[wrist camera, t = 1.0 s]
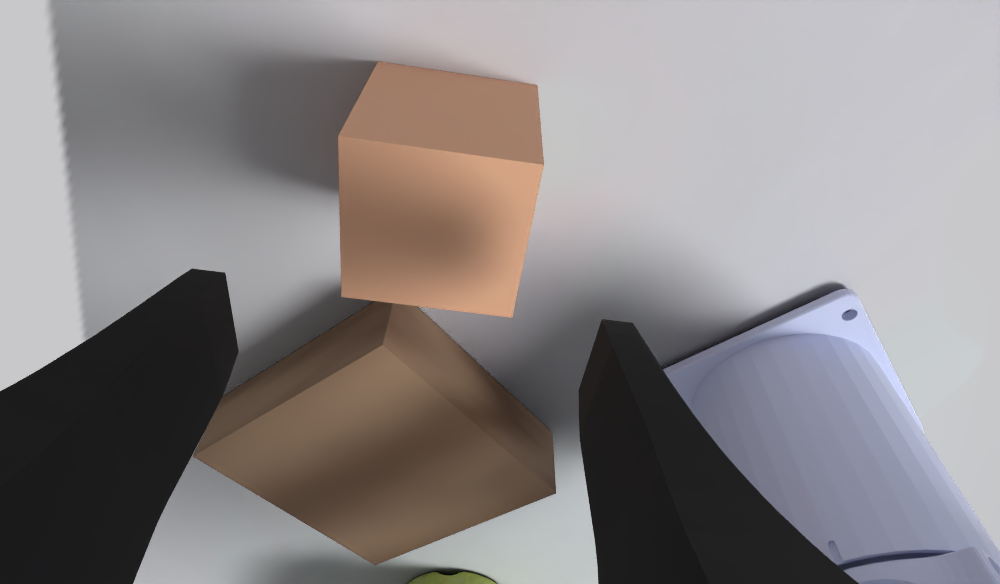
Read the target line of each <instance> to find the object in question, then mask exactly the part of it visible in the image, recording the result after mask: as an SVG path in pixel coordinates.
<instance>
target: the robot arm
mask: <svg viewBox="0 0 1000 584" xmlns="http://www.w3.org/2000/svg"><path fill="white" fill-rule="evenodd" d="M850 309H851V310H850ZM847 310H850V311H849V312H847V313H844V312H845V311H847ZM238 352H239V351H238V345H237V339H236V333H235V328H234V322H233V316H232V310H231V304H230V298H229V292H228V286H227V281H226V275H225V273H223V272H215V271H206V270H198V269H191V270H189V271H188V272H186V273H185V274H183V275H182V276H180V277H179V278H177V279H176V280H174V281H173V282H171V283H170V284H169V285H167V286H166V287H164V288H163V289H161V290H160V291H159V292H157V293H156V294H154V295H153V296H151V297H150V298H149V299H147V300H146V301H144V302H143V303H142V304H140V305H139V306H137V307H136V308H134V309H133V310H131V311H130V312H128V313H127V314H126V315H124V316H123V317H121V318H120V319H118V320H117V321H115V322H114V323H112V324H111V325H109V326H108V327H106V328H105V329H103V330H102V331H100V332H99V333H97V334H96V335H94V336H93V337H91V338H90V339H88V340H86V341H85V342H83V343H82V344H80V345H78V346H77V347H75V348H74V349H72V350H70V351H69V352H67V353H65V354H64V355H62V356H61V357H59V358H57V359H56V360H54V361H53V362H51V363H49V364H48V365H46V366H44V367H43V368H41V369H40V370H38V371H36V372H34V373H33V374H31V375H29V376H28V377H26V378H24V379H22V380H20V381H18V382H17V383H15V384H13V385H11V386H10V387H8V388H6V389H4V390H2V391H0V584H133V582H134V580H135V577H136V574H137V572H138V569H139V567H140V564H141V562H142V560H143V557H144V555H145V552H146V550H147V547H148V545H149V542H150V540H151V537H152V535H153V532H154V530H155V527H156V525H157V523H158V520H159V518H160V516H161V514H162V512H163V510H164V508H165V506H166V504H167V502H168V499H169V498H170V496H171V494H172V492H173V490H174V488H175V486H176V484H177V483H178V481H179V479H180V477H181V475H182V473H183V471H184V469H185V467H186V466H187V464H188V462H189V460H190V458H191V456H192V454H193V452H194V450H195V449H196V447H197V445H198V443H199V441H200V439H201V437H202V435H203V433H204V432H205V430H206V428H207V426H208V424H209V422H210V420H211V418H212V416H213V414H214V412H215V410H216V408H217V406H218V404H219V402H220V400H221V399H222V396H223V393H224V391H225V388H226V385H227V383H228V380H229V378H230V375H231V372H232V369H233V366H234V363H235V360H236V357H237V355H238ZM579 429H580V442H581V450H582V457H583V464H584V471H585V477H586V484H587V491H588V497H589V504H590V511H591V517H592V524H593V531H594V537H595V545H596V554H597V564H598V582H599V584H1000V551H999V549H998V547H997V546H996V544H995V543H994V541H993V540H992V538H991V537H990V535H989V534H988V532H987V531H986V529H985V528H984V526H983V524H982V523H981V521H980V520H979V518H978V517H977V515H976V514H975V512H974V511H973V509H972V507H971V506H970V504H969V503H968V501H967V500H966V498H965V497H964V495H963V493H962V492H961V490H960V489H959V488H958V486H957V484H956V483H955V481H954V480H953V478H952V477H951V475H950V474H949V472H948V470H947V469H946V467H945V466H944V464H943V463H942V461H941V460H940V458H939V456H938V455H937V453H936V452H935V450H934V449H933V447H932V446H931V444H930V443H929V441H928V440H927V438H926V437H925V435H924V433H923V432H924V429H923V426H922V424H921V423H920V420H919V418H918V416H917V414H916V412H915V410H914V408H913V406H912V404H911V402H910V400H909V398H908V396H907V394H906V392H905V390H904V388H903V386H902V384H901V382H900V380H899V378H898V376H897V374H896V372H895V370H894V368H893V366H892V364H891V362H890V360H889V358H888V356H887V354H886V352H885V350H884V348H883V346H882V344H881V342H880V340H879V338H878V336H877V334H876V332H875V330H874V328H873V326H872V324H871V322H870V320H869V318H868V316H867V314H866V312H865V310H864V308H863V306H862V304H861V302H860V300H859V298H858V297H857V295H856V294H855V293H854V292H853V290H850V289H840V290H837V291H835V292H832V293H830V294H828V295H826V296H824V297H821V298H819V299H817V300H815V301H813V302H810V303H808V304H806V305H804V306H802V307H799V308H797V309H795V310H793V311H791V312H788V313H786V314H784V315H782V316H780V317H777V318H775V319H773V320H771V321H769V322H766V323H764V324H762V325H760V326H758V327H755V328H753V329H751V330H749V331H747V332H744V333H742V334H740V335H738V336H736V337H733V338H731V339H729V340H727V341H725V342H722V343H720V344H718V345H716V346H713V347H711V348H709V349H707V350H705V351H702V352H700V353H698V354H696V355H694V356H691V357H689V358H687V359H685V360H683V361H680V362H678V363H676V364H674V365H672V366H669V367H667V368H665V369H662V368H661V366H660V364H659V363H658V361H657V360H656V358H655V357H654V355H653V354H652V352H651V351H650V349H649V347H648V346H647V344H646V343H645V341H644V340H643V338H642V336H641V335H640V333H639V332H638V330H637V329H636V327H635V326H634V324H633V323H628V322H620V321H612V320H604V319H602V321H601V324H600V327H599V330H598V333H597V336H596V339H595V342H594V345H593V348H592V352H591V355H590V358H589V361H588V364H587V367H586V370H585V373H584V376H583V379H582V382H581V385H580V388H579Z"/></svg>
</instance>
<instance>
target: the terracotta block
mask: <svg viewBox="0 0 1000 584" xmlns="http://www.w3.org/2000/svg"><path fill="white" fill-rule="evenodd" d="M338 159H339V205H340V251H341V296H342V297H346V298H355V299H363V300H371V301H379V302H387V303H396V304H404V305H412V306H420V307H428V308H437V309H445V310H453V311H461V312H470V313H478V314H486V315H494V316H502V317H511V318H512V317H513V312H514V307H515V302H516V297H517V293H518V288H519V283H520V278H521V273H522V268H523V264H524V259H525V254H526V249H527V244H528V239H529V234H530V230H531V225H532V220H533V215H534V210H535V205H536V201H537V196H538V191H539V186H540V181H541V176H542V172H543V167H544V160H543V148H542V136H541V123H540V111H539V98H538V86H537V85H532V84H526V83H519V82H512V81H506V80H499V79H492V78H486V77H479V76H473V75H466V74H459V73H453V72H446V71H439V70H433V69H426V68H419V67H413V66H406V65H400V64H393V63H386V62H380V61H378V62H377V64H376V66H375V68H374V70H373V72H372V74H371V75H370V77H369V79H368V81H367V83H366V85H365V87H364V88H363V90H362V92H361V94H360V96H359V98H358V100H357V102H356V103H355V105H354V107H353V109H352V111H351V113H350V115H349V116H348V118H347V120H346V122H345V124H344V126H343V128H342V129H341V131H340V133H339V135H338Z"/></svg>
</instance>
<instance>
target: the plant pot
mask: <svg viewBox="0 0 1000 584" xmlns="http://www.w3.org/2000/svg"><path fill="white" fill-rule="evenodd" d="M408 584H497V583H495V582H493V581H492V580H490V579H488V578H485V577H483V576H480V575H477V574H474V573H469V572H460V573H458V574H456V575H442V574H439V573H438V572H432V573H427V574H424V575H421V576H419V577H417V578H415V579H413V580H412V581H411V582H409V583H408Z"/></svg>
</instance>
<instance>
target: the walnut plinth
mask: <svg viewBox="0 0 1000 584" xmlns="http://www.w3.org/2000/svg"><path fill="white" fill-rule="evenodd" d="M193 457H195V458H197V459H198V460H200V461H202V462H203V463H205V464H207V465H208V466H210V467H212V468H213V469H215V470H217V471H218V472H220V473H222V474H223V475H225V476H227V477H228V478H230V479H232V480H233V481H235V482H237V483H238V484H240V485H242V486H243V487H245V488H247V489H248V490H250V491H252V492H254V493H255V494H257V495H259V496H260V497H262V498H264V499H265V500H267V501H269V502H270V503H272V504H274V505H275V506H277V507H279V508H280V509H282V510H284V511H285V512H287V513H289V514H290V515H292V516H294V517H295V518H297V519H299V520H300V521H302V522H304V523H305V524H307V525H309V526H310V527H312V528H314V529H315V530H317V531H319V532H320V533H322V534H324V535H325V536H327V537H329V538H330V539H332V540H334V541H336V542H337V543H339V544H341V545H342V546H344V547H346V548H347V549H349V550H351V551H352V552H354V553H356V554H357V555H359V556H361V557H362V558H364V559H366V560H367V561H369V562H371V563H372V564H374V565H377V564H379V563H382V562H384V561H387V560H390V559H392V558H395V557H397V556H400V555H402V554H405V553H407V552H410V551H412V550H415V549H417V548H420V547H422V546H425V545H427V544H430V543H432V542H435V541H437V540H440V539H442V538H445V537H447V536H450V535H452V534H455V533H457V532H460V531H462V530H465V529H467V528H470V527H472V526H475V525H477V524H480V523H482V522H485V521H488V520H490V519H493V518H495V517H498V516H500V515H503V514H505V513H508V512H510V511H513V510H515V509H518V508H520V507H523V506H525V505H528V504H530V503H533V502H535V501H538V500H540V499H543V498H545V497H548V496H550V495H553V494H555V493H556V486H555V468H554V451H553V434H552V432H551V431H550V430H549V429H548V428H547V427H545V426H544V425H543V424H542V423H541V422H540V421H539V420H538V419H537V418H536V417H535V416H534V415H533V414H532V413H531V412H529V411H528V410H527V409H526V408H525V407H524V406H523V405H522V404H521V403H520V402H519V401H518V400H517V399H516V398H515V397H513V396H512V395H511V394H510V393H509V392H508V391H507V390H506V389H505V388H504V387H503V386H502V385H501V384H500V383H499V382H497V381H496V380H495V379H494V378H493V377H492V376H491V375H490V374H489V373H488V372H487V371H486V370H485V369H484V368H483V367H481V366H480V365H479V364H478V363H477V362H476V361H475V360H474V359H473V358H472V357H471V356H470V355H469V354H468V353H467V352H465V351H464V350H463V349H462V348H461V347H460V346H459V345H458V344H457V343H456V342H455V341H454V340H453V339H452V338H451V337H449V336H448V335H447V334H446V333H445V332H444V331H443V330H442V329H441V328H440V327H439V326H438V325H437V324H436V323H435V322H433V321H432V320H431V319H430V318H429V317H428V316H427V315H426V314H425V313H424V312H423V311H422V310H421V309H420V308H419V307H417V306H412V305H404V304H396V303H387V302H379V301H374V302H373V303H371V304H369V305H368V306H366V307H365V308H363V309H361V310H360V311H358V312H357V313H355V314H353V315H352V316H350V317H349V318H347V319H345V320H344V321H342V322H341V323H339V324H338V325H336V326H334V327H333V328H331V329H330V330H328V331H326V332H325V333H323V334H322V335H320V336H318V337H317V338H315V339H314V340H312V341H310V342H309V343H307V344H306V345H304V346H302V347H301V348H299V349H298V350H296V351H295V352H293V353H291V354H290V355H288V356H287V357H285V358H283V359H282V360H280V361H279V362H277V363H275V364H274V365H272V366H271V367H269V368H267V369H266V370H264V371H263V372H261V373H259V374H258V375H256V376H255V377H253V378H252V379H250V380H248V381H247V382H245V383H244V384H242V385H240V386H239V387H237V388H236V389H234V390H232V391H231V392H229V393H228V394H226V395H224V396H223V397H222V399H221V400H220V402H219V404H218V406H217V408H216V410H215V412H214V414H213V416H212V418H211V420H210V422H209V424H208V426H207V428H206V430H205V432H204V434H203V437H202V439H201V441H200V443H199V445H198V447H197V449H196V451H195V453H194V455H193Z"/></svg>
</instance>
